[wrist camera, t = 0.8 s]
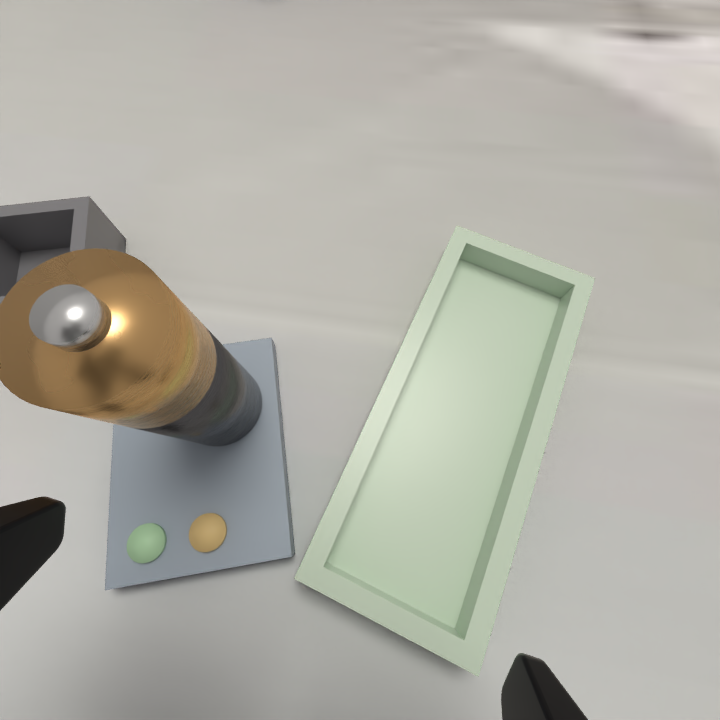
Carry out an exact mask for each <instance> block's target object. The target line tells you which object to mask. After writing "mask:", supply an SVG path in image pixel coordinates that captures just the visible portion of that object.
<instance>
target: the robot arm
mask: <svg viewBox="0 0 720 720" xmlns="http://www.w3.org/2000/svg"><path fill="white" fill-rule="evenodd" d="M65 511H66V507H65V505H64V503H63V502H61V501H58V500H55V499H52V498H49V497H38V498H34V499H30V500H26V501H22V502H18V503H14V504H10V505H6V506H2V507H0V610H1V609H2V608H3V607H4V606H5V605H6V604H7V603H8V602H9V601H10V600H11V599H12V597H13V596H14V595H15V594H16V593H17V592H18V591H19V590H20V589H21V588H22V587H23V586H24V585H25V583H26V582H27V581H28V580H29V579H30V578H31V577H32V576H33V575H34V574H35V573H36V572H37V571H38V570H39V568H40V567H41V566H42V565H43V564H44V563H45V562H46V561H47V560H48V559H49V558H50V557H51V556H52V554H53V553H54V552H55V551H56V550H57V549H58V547H59V546H60V544H61V542H62V539H63V535H64V523H65ZM501 705H502V718H503V720H588V719H587V718H586V716H585V715H584V714H583V712H582V711H581V710H580V708H579V707H578V706H577V704H576V703H575V702H574V700H573V699H572V698H571V696H570V695H569V694H568V692H567V691H566V690H565V688H564V687H563V686H562V684H561V683H560V682H559V680H558V679H557V678H556V676H555V675H554V674H553V672H552V671H551V670H550V668H549V667H548V666H547V665H546V663H545V662H544V661H543V660H541V659H539V658H536V657H533V656H530V655H527V654H524V653H520V654H518V655H517V656H516V658H515V660H514V662H513V664H512V666H511V669H510V671H509V673H508V675H507V678H506V680H505V682H504V685H503V688H502V694H501Z"/></svg>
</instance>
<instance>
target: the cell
mask: <svg viewBox="0 0 720 720" xmlns="http://www.w3.org/2000/svg"><path fill="white" fill-rule="evenodd" d="M0 380H1V381H2V383H3V384H4V385H5V386H6V387H7V388H8V389H9V390H10V391H11V392H12V393H13V394H15V395H16V396H17V397H19V398H20V399H22V400H24V401H26V402H28V403H30V404H34V405H37V406H40V407H44V408H48V409H52V410H57V411H61V412H65V413H69V414H74V415H78V416H82V417H87V418H91V419H95V420H100V421H104V422H108V423H113V424H117V425H121V426H126V427H130V428H134V429H139V430H143V431H147V432H152V433H156V434H160V435H164V436H169V437H173V438H177V439H182V440H186V441H190V442H195V443H199V444H203V445H208V446H225V445H230V444H232V443H235V442H237V441H239V440H240V439H242V438H243V437H245V436H246V435H247V434H248V433H249V432H250V431H251V430H252V429H253V427H254V426H255V425H256V423H257V421H258V419H259V416H260V414H261V410H262V395H261V391H260V388H259V386H258V384H257V382H256V381H255V379H254V378H253V377H252V376H251V375H250V374H249V373H248V372H247V370H246V369H245V368H244V367H243V366H242V365H241V364H240V363H239V362H238V361H237V360H236V359H235V358H234V357H233V356H232V355H231V354H230V352H229V351H228V350H227V349H226V348H225V347H224V346H223V345H222V344H221V343H220V342H219V341H218V340H217V339H216V338H215V337H214V336H213V334H212V333H211V332H210V331H209V330H208V329H207V328H206V327H205V326H204V325H203V324H202V323H201V322H200V321H199V320H198V319H197V317H196V316H195V315H194V314H193V313H192V312H191V311H190V310H189V309H188V308H187V307H186V306H185V305H184V304H183V303H182V302H181V301H180V299H179V298H178V297H177V296H176V295H175V294H174V293H173V292H172V291H171V290H170V289H169V288H168V287H167V286H166V285H165V284H164V283H163V281H162V280H161V279H160V278H159V277H158V276H157V275H156V274H155V273H154V272H153V271H152V270H151V269H150V268H149V267H148V266H147V265H145V264H144V263H143V262H141V261H140V260H138V259H137V258H135V257H133V256H130V255H128V254H126V253H123V252H119V251H115V250H109V249H97V248H94V249H82V250H76V251H72V252H68V253H64V254H61V255H59V256H56V257H54V258H51V259H49V260H47V261H45V262H44V263H42V264H40V265H38V266H37V267H35V268H34V269H32V270H31V271H30V272H28V273H27V274H26V275H25V276H23V277H22V278H21V279H20V280H19V281H18V282H17V283H16V284H15V285H14V286H13V287H12V289H11V290H10V291H9V292H8V294H7V295H6V296H5V298H4V299H3V301H2V303H1V304H0Z"/></svg>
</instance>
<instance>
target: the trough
mask: <svg viewBox="0 0 720 720" xmlns="http://www.w3.org/2000/svg"><path fill="white" fill-rule="evenodd" d="M594 280H595V278H593V277H591V276H588V275H585V274H583V273H580V272H578V271H575V270H572V269H570V268H567V267H564V266H562V265H559V264H557V263H554V262H551V261H549V260H546V259H544V258H541V257H538V256H536V255H533V254H530V253H528V252H525V251H523V250H520V249H517V248H515V247H512V246H510V245H507V244H504V243H502V242H499V241H496V240H494V239H491V238H489V237H486V236H483V235H481V234H478V233H476V232H473V231H470V230H468V229H465V228H462V227H460V226H456V228H455V230H454V233H453V235H452V237H451V239H450V241H449V243H448V246H447V248H446V250H445V252H444V254H443V256H442V259H441V261H440V263H439V265H438V267H437V269H436V272H435V274H434V276H433V278H432V280H431V282H430V285H429V287H428V289H427V291H426V293H425V296H424V298H423V300H422V302H421V304H420V306H419V309H418V311H417V313H416V315H415V317H414V319H413V322H412V324H411V326H410V328H409V330H408V332H407V335H406V337H405V339H404V341H403V343H402V345H401V348H400V350H399V352H398V354H397V356H396V358H395V361H394V363H393V365H392V367H391V369H390V371H389V374H388V376H387V378H386V380H385V382H384V385H383V387H382V389H381V391H380V393H379V395H378V398H377V400H376V402H375V404H374V406H373V408H372V411H371V413H370V415H369V417H368V419H367V421H366V424H365V426H364V428H363V430H362V432H361V434H360V437H359V439H358V441H357V443H356V445H355V447H354V450H353V452H352V454H351V456H350V458H349V461H348V463H347V465H346V467H345V469H344V471H343V474H342V476H341V478H340V480H339V482H338V484H337V487H336V489H335V491H334V493H333V495H332V497H331V500H330V502H329V504H328V506H327V508H326V510H325V513H324V515H323V517H322V519H321V521H320V523H319V526H318V528H317V530H316V532H315V534H314V537H313V539H312V541H311V543H310V545H309V547H308V550H307V552H306V554H305V556H304V558H303V560H302V563H301V565H300V567H299V569H298V571H297V573H296V576H295V578H294V579H295V580H297V581H299V582H301V583H303V584H305V585H307V586H309V587H310V588H312V589H314V590H316V591H318V592H320V593H322V594H324V595H325V596H327V597H329V598H331V599H333V600H335V601H337V602H339V603H340V604H342V605H344V606H346V607H348V608H350V609H352V610H354V611H356V612H357V613H359V614H361V615H363V616H365V617H367V618H369V619H371V620H372V621H374V622H376V623H378V624H380V625H382V626H384V627H386V628H387V629H389V630H391V631H393V632H395V633H397V634H399V635H401V636H403V637H404V638H406V639H408V640H410V641H412V642H414V643H416V644H418V645H419V646H421V647H423V648H425V649H427V650H429V651H431V652H433V653H434V654H436V655H438V656H440V657H442V658H444V659H446V660H448V661H450V662H451V663H453V664H455V665H457V666H459V667H461V668H463V669H465V670H466V671H468V672H470V673H472V674H474V675H476V676H479V673H480V670H481V666H482V663H483V659H484V656H485V653H486V649H487V646H488V642H489V639H490V635H491V632H492V629H493V625H494V622H495V618H496V615H497V612H498V608H499V605H500V601H501V598H502V594H503V591H504V588H505V584H506V581H507V577H508V574H509V570H510V567H511V564H512V560H513V557H514V553H515V550H516V547H517V543H518V540H519V536H520V533H521V529H522V526H523V523H524V519H525V516H526V512H527V509H528V506H529V502H530V499H531V495H532V492H533V488H534V485H535V482H536V478H537V475H538V471H539V468H540V464H541V461H542V458H543V454H544V451H545V447H546V444H547V441H548V437H549V434H550V430H551V427H552V423H553V420H554V417H555V413H556V410H557V406H558V403H559V400H560V396H561V393H562V389H563V386H564V382H565V379H566V376H567V372H568V369H569V365H570V362H571V358H572V355H573V352H574V348H575V345H576V341H577V338H578V335H579V331H580V328H581V324H582V321H583V317H584V314H585V311H586V307H587V304H588V300H589V297H590V294H591V290H592V287H593V283H594Z"/></svg>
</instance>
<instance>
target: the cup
mask: <svg viewBox="0 0 720 720" xmlns="http://www.w3.org/2000/svg"><path fill="white" fill-rule="evenodd" d="M125 243H126V239H125V237H124V236H123V235H122V234H121V233H120V232H119V230H118V229H117V228H116V227H115V226H114V225H113V223H112V222H111V221H110V220H109V219H108V218H107V216H106V215H105V214H104V213H103V212H102V211H101V209H100V208H99V207H98V206H97V205H96V204H95V202H94V201H93V200H92V199H91V198H90V197H80V198H70V199H61V200H52V201H42V202H33V203H24V204H15V205H5V206H0V304H1V303H2V301H3V299H4V298H5V296H6V295H7V294H8V292H9V291H10V290H11V289H12V287H13V286H14V285H15V284H16V283H17V282H18V281H19V280H20V279H21V278H22V277H23V276H25V275H26V274H27V273H28V272H30V271H31V270H32V269H34V268H35V267H37V266H38V265H40V264H42V263H44V262H45V261H47V260H49V259H51V258H54V257H56V256H59V255H61V254H64V253H68V252H72V251H76V250H82V249H94V248H97V249H109V250H115V251H119V252H123V253H125Z"/></svg>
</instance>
